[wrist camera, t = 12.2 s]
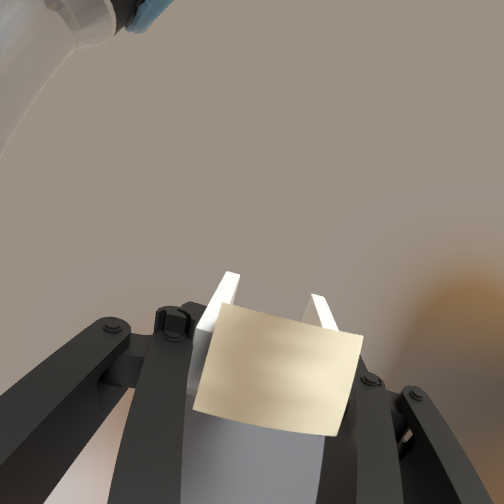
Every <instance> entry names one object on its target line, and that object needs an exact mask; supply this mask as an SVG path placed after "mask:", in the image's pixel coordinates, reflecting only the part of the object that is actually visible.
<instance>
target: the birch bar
mask: <svg viewBox="0 0 504 504" xmlns="http://www.w3.org/2000/svg"><path fill="white" fill-rule="evenodd" d="M362 341H363V336H361V335H356V334H350V333H346V332H341V331H337V330H332V329H327V328H323V327H318V326H314V325H310V324H305V323H301V322H297V321H292V320H289V319H285V318H280V317H276V316H272V315H269V314H265V313H261V312H257V311H253V310H249V309H245V308H242V307H238V306H234V305H231V304H227V303H224V302H222V304H221V307H220V311H219V314H218V318H217V322H216V325H215V329H214V332H213V336H212V340H211V343H210V347H209V350H208V354H207V358H206V361H205V365H204V369H203V372H202V376H201V380H200V383H199V387H198V391H197V395H196V398H195V402H194V406H193V410H196V411H199V412H203V413H206V414H210V415H214V416H218V417H221V418H225V419H229V420H234V421H238V422H242V423H247V424H252V425H257V426H262V427H267V428H273V429H278V430H285V431H291V432H299V433H306V434H315V435H325V436H337V433H338V430H339V427H340V424H341V421H342V418H343V414H344V411H345V408H346V405H347V401H348V398H349V394H350V391H351V387H352V383H353V379H354V376H355V372H356V368H357V364H358V359H359V355H360V351H361V346H362Z"/></svg>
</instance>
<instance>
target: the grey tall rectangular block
mask: <svg viewBox="0 0 504 504" xmlns="http://www.w3.org/2000/svg"><path fill="white" fill-rule="evenodd" d="M197 391H198V390H194V389H191V388H188V387H187V391H186V403H185V416H184V431H183V447H182V469H181V504H315V503H316V498H317V492H318V486H319V479H320V472H321V465H322V457H323V449H324V441H325V435H322V436H319V435H315V434H306V433H299V432H291V431H285V430H278V429H273V428H267V427H262V426H257V425H252V424H247V423H242V422H238V421H234V420H229V419H225V418H221V417H218V416H214V415H210V414H206V413H203V412H199V411H196V410H193V406H194V402H195V398H196V395H197Z"/></svg>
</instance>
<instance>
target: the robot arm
mask: <svg viewBox="0 0 504 504" xmlns="http://www.w3.org/2000/svg"><path fill="white" fill-rule="evenodd" d="M173 1H174V0H0V160H1V158H2V156H3V154H4V152H5V150H6V148H7V146H8V144H9V142H10V141H11V139H12V137H13V135H14V133H15V131H16V130H17V128H18V126H19V125H20V123H21V121H22V120H23V118H24V116H25V115H26V113H27V112H28V110H29V109H30V107H31V106H32V104H33V103H34V101H35V100H36V98H37V97H38V95H39V94H40V92H41V91H42V90H43V88H44V87H45V85H46V84H47V83H48V81H49V80H50V79H51V78H52V76H53V75H54V73H55V72H56V71H57V70H58V69H59V67H60V66H61V65H62V64H63V63H64V61H65V60H66V59H67V58H68V57H69V56H70V54H71V53H72V52H74V51H76V50H78V49H82V48H89V47H96V46H102V45H103V44H105V43H107V42H108V41H109V40H110V39H111V38H112V37H113V36H114V35H115V34H116V33H117V32H118V31H119V30H120V29H121V28H122V27H124V26H125V30H126V31H127V32H133V33H136V34H140V33H143V32H145V31H146V30H147V28H148V27H149V26H150V25H151V24H152V22H153V21H154V20H155V19H156V18H157V17H158V16H159V15H160V14H161V13H162V12H163V11H164V10H165V9H166V8H167V7H168V6H169V4H171V3H172V2H173ZM239 278H240V275H239V274H235V273H232V272H228V271H227V272H226V274H225V276H224V278H223V279H222V281H221V283H220V285H219V287H218V288H217V290H216V292H215V294H214V296H213V297H212V299H211V301H210V303H209V305H208V306H205V305H201V304H198V303H194V302H191V301H190V302H187V303H185V304H183V305H182V306H181V307H175V306H164V307H162V308H159V309H158V310H157V311H156V317H155V326H154V333H153V335H140V334H134V333H131V327H130V326H129V324H128V323H127V322H126V321H124V320H122V319H119V318H116V317H104V318H100V319H98V320H96V321H95V322H94V323H92V324H91V325H90V326H88V327H87V328H86V329H84V330H83V331H82V332H80V333H79V334H78V335H76V336H75V337H74V338H72V339H71V340H70V341H69V342H67V343H66V344H65V345H63V346H62V347H61V348H60V349H58V350H57V351H56V352H54V353H53V354H52V355H50V356H49V357H48V358H47V359H45V360H44V361H43V362H42V363H40V364H39V365H38V366H36V367H35V368H34V369H33V370H32V371H30V372H29V373H28V374H26V375H25V376H24V377H23V378H22V379H20V380H19V381H18V382H17V383H15V384H14V385H13V386H12V387H11V388H9V389H8V390H7V391H6V392H4V393H3V394H2V395H1V396H0V504H43V503H44V502H45V500H46V499H47V498H48V496H49V495H50V493H51V492H52V491H53V489H54V488H55V487H56V485H57V484H58V482H59V481H60V480H61V478H62V477H63V476H64V474H65V473H66V471H67V470H68V468H69V467H70V466H71V464H72V463H73V462H74V460H75V459H76V458H77V456H78V455H79V454H80V452H81V451H82V450H83V448H84V447H85V446H86V444H87V443H88V442H89V440H90V439H91V437H92V436H93V435H94V433H95V432H96V431H97V429H98V428H99V427H100V425H101V424H102V423H103V421H104V420H105V419H106V417H107V416H108V415H109V413H110V412H111V410H112V409H113V408H114V407H115V406H116V404H117V403H118V402H119V400H120V399H121V398H122V396H123V395H124V394H125V392H126V391H127V390H128V387H129V388H135V392H134V396H133V399H132V402H131V406H130V409H129V413H128V417H127V420H126V424H125V428H124V432H123V436H122V439H121V443H120V447H119V452H118V456H117V460H116V464H115V469H114V473H113V478H112V482H111V487H110V492H109V497H108V502H107V504H181V469H182V447H183V431H184V416H185V403H186V391H187V387H188V388H191V389H194V390H198V387H199V383H200V380H201V376H202V372H203V369H204V365H205V361H206V358H207V354H208V350H209V347H210V343H211V340H212V336H213V332H214V329H215V325H216V322H217V318H218V314H219V311H220V307H221V304H222V302H224V303H227V304H231V305H233V301H234V298H235V294H236V290H237V286H238V281H239ZM301 323H305V324H310V325H314V326H318V327H323V328H327V329H332V330H337V331H339V330H338V328H337V325H336V323H335V321H334V319H333V316H332V314H331V312H330V309H329V307H328V305H327V303H326V300H325V298H324V297H322V296H318V295H315V294H311V296H310V299H309V301H308V305H307V307H306V310H305V313H304V316H303V318H302V321H301ZM409 430H411V431H412V433H413V435H412V436H411V438H410V439H409V440H408V441H407V442H406V441H405V439H404V436H405V435H406V434H407V432H408V431H409ZM319 436H322V435H319ZM315 504H493V502H492V500H491V498H490V496H489V494H488V492H487V491H486V489H485V487H484V485H483V483H482V481H481V480H480V478H479V476H478V474H477V473H476V471H475V469H474V467H473V466H472V464H471V462H470V460H469V459H468V457H467V455H466V454H465V452H464V451H463V449H462V447H461V446H460V444H459V442H458V441H457V439H456V437H455V436H454V434H453V433H452V431H451V429H450V428H449V426H448V425H447V423H446V422H445V420H444V419H443V417H442V416H441V414H440V412H439V411H438V409H437V408H436V406H435V405H434V403H433V402H432V400H431V399H430V398H429V396H428V395H427V394H426V393H425V392H424V391H423V390H422V389H421V388H419V387H416V386H406V387H404V388H403V389H402V391H401V392H400V394H398V393H395V392H391V391H388V390H386V388H385V384H384V382H383V380H382V379H381V378H380V377H378V376H376V375H375V374H373V373H370V372H368V370H367V369H366V366H365V364H364V362H363V360H362V358H361V355H359V359H358V364H357V368H356V372H355V376H354V379H353V383H352V387H351V391H350V394H349V398H348V401H347V405H346V408H345V411H344V414H343V418H342V421H341V424H340V427H339V430H338V433H337V436H325V441H324V449H323V457H322V465H321V472H320V479H319V486H318V492H317V498H316V503H315Z"/></svg>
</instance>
